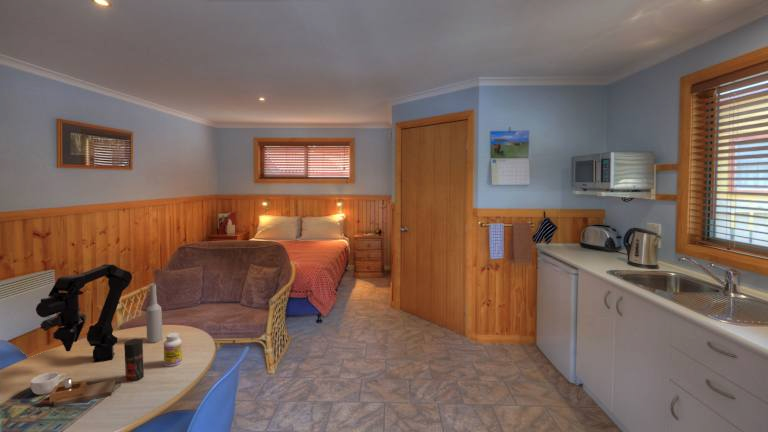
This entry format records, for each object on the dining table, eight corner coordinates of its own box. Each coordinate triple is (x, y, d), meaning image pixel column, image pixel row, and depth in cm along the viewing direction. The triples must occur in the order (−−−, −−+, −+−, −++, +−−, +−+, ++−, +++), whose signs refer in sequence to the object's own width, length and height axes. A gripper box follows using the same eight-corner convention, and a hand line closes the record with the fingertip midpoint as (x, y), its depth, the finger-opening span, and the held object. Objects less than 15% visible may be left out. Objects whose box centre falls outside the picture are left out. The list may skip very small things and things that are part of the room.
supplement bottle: (163, 368, 153) (162, 338, 152) (165, 361, 159) (164, 332, 158) (181, 365, 155) (180, 336, 154) (182, 358, 161) (182, 330, 160)
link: (86, 386, 135) (86, 380, 135) (82, 395, 130) (82, 388, 130) (55, 392, 131) (54, 386, 131) (49, 401, 126) (49, 394, 126)
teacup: (37, 399, 130) (36, 385, 129) (26, 394, 133) (25, 379, 132) (71, 385, 139) (70, 372, 138) (60, 380, 142) (59, 367, 141)
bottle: (150, 344, 175) (148, 287, 172) (144, 340, 178) (142, 285, 176) (165, 339, 180) (163, 284, 178) (158, 336, 184) (156, 282, 181)
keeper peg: (73, 392, 132) (72, 377, 131) (71, 394, 130) (70, 380, 130) (66, 393, 131) (65, 378, 131) (64, 396, 129) (63, 381, 129)
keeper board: (115, 383, 141) (115, 379, 141) (111, 395, 133) (111, 391, 133) (62, 393, 133) (61, 389, 133) (53, 407, 125) (53, 403, 125)
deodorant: (147, 375, 147) (146, 339, 145) (132, 383, 141) (131, 346, 140) (136, 373, 149) (135, 337, 147) (122, 380, 143) (120, 343, 142)
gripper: (51, 304, 148) (53, 341, 149) (33, 319, 132) (36, 360, 133) (85, 300, 153) (87, 336, 155) (72, 314, 137) (75, 354, 138)
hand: (71, 346), depth 145 cm, fingers open, 9 cm apart
